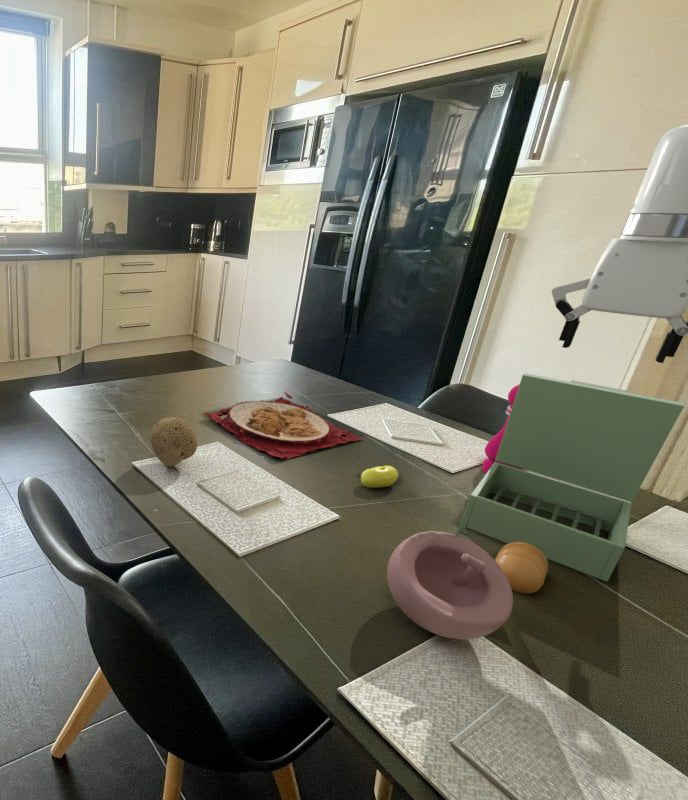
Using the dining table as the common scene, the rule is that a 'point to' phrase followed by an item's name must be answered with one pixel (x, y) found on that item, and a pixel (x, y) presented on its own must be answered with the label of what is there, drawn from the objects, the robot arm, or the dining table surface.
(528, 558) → the bread roll
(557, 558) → the bin
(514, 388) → the pepper mill
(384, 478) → the yellow oval piece
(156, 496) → the dining table surface
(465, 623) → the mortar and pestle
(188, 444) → the natural sponge
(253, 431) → the plate with food
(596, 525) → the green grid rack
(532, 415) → the lid
